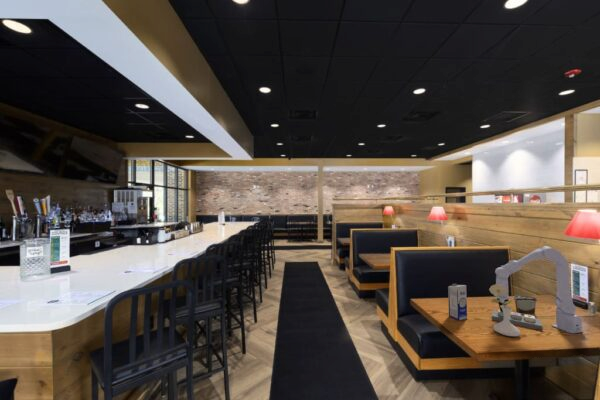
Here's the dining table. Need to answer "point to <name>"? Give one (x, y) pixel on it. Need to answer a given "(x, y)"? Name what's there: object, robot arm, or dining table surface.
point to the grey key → (516, 315)
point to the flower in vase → (505, 325)
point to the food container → (525, 304)
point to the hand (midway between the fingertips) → (502, 311)
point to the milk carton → (457, 302)
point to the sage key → (500, 313)
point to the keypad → (519, 321)
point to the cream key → (529, 318)
